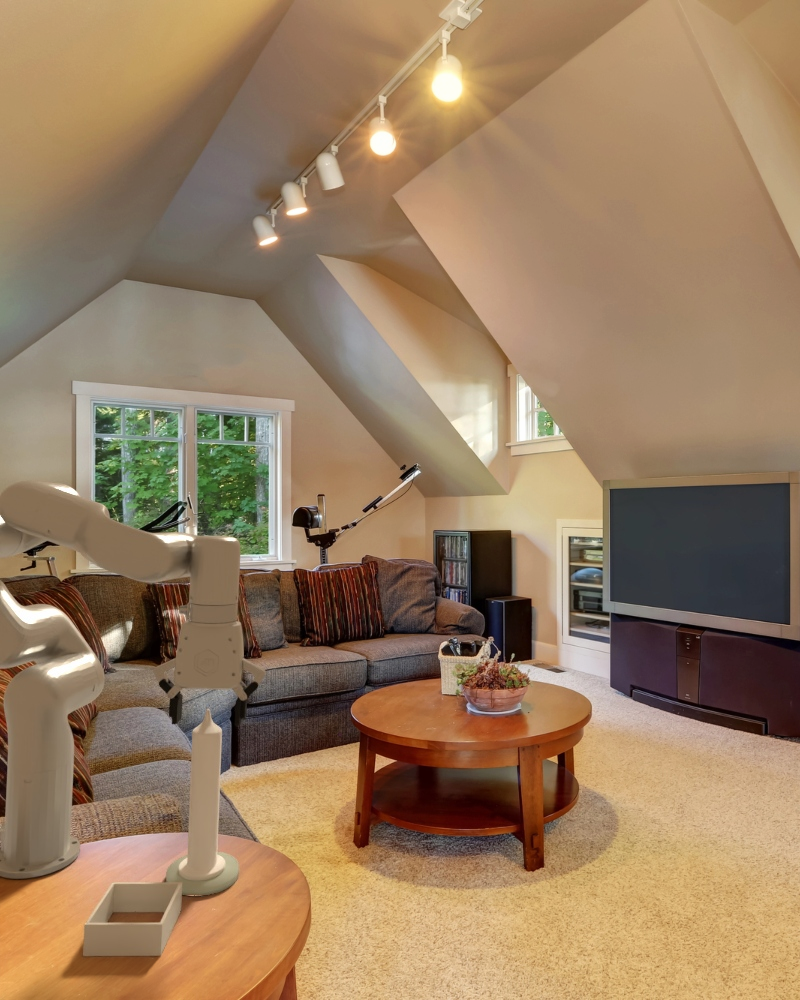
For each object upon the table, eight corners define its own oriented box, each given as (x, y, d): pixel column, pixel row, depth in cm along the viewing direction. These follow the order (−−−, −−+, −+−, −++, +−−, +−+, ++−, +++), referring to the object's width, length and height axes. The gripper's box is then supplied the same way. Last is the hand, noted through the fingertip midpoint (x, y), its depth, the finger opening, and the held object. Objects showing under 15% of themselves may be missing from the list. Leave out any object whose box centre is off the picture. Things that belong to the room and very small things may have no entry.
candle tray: (82, 956, 85) (84, 924, 86) (111, 910, 95) (112, 882, 95) (160, 955, 86) (162, 924, 86) (181, 910, 96) (182, 882, 96)
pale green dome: (149, 885, 102) (150, 877, 102) (198, 852, 112) (198, 845, 112) (207, 904, 98) (208, 896, 98) (252, 868, 108) (253, 861, 108)
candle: (211, 884, 101) (218, 717, 101) (169, 877, 102) (175, 713, 103) (232, 860, 108) (238, 704, 108) (192, 854, 109) (198, 700, 109)
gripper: (150, 615, 101) (144, 728, 101) (264, 619, 102) (259, 731, 102) (164, 608, 109) (158, 713, 109) (271, 612, 110) (266, 716, 110)
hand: (207, 722), depth 105 cm, fingers open, 9 cm apart
